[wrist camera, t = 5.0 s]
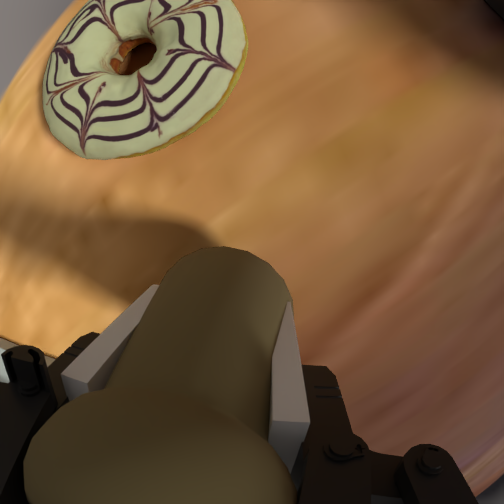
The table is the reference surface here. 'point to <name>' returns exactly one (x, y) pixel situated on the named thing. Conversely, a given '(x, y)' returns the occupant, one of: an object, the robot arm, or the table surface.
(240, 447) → the cork
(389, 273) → the table surface
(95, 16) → the decorated donut
